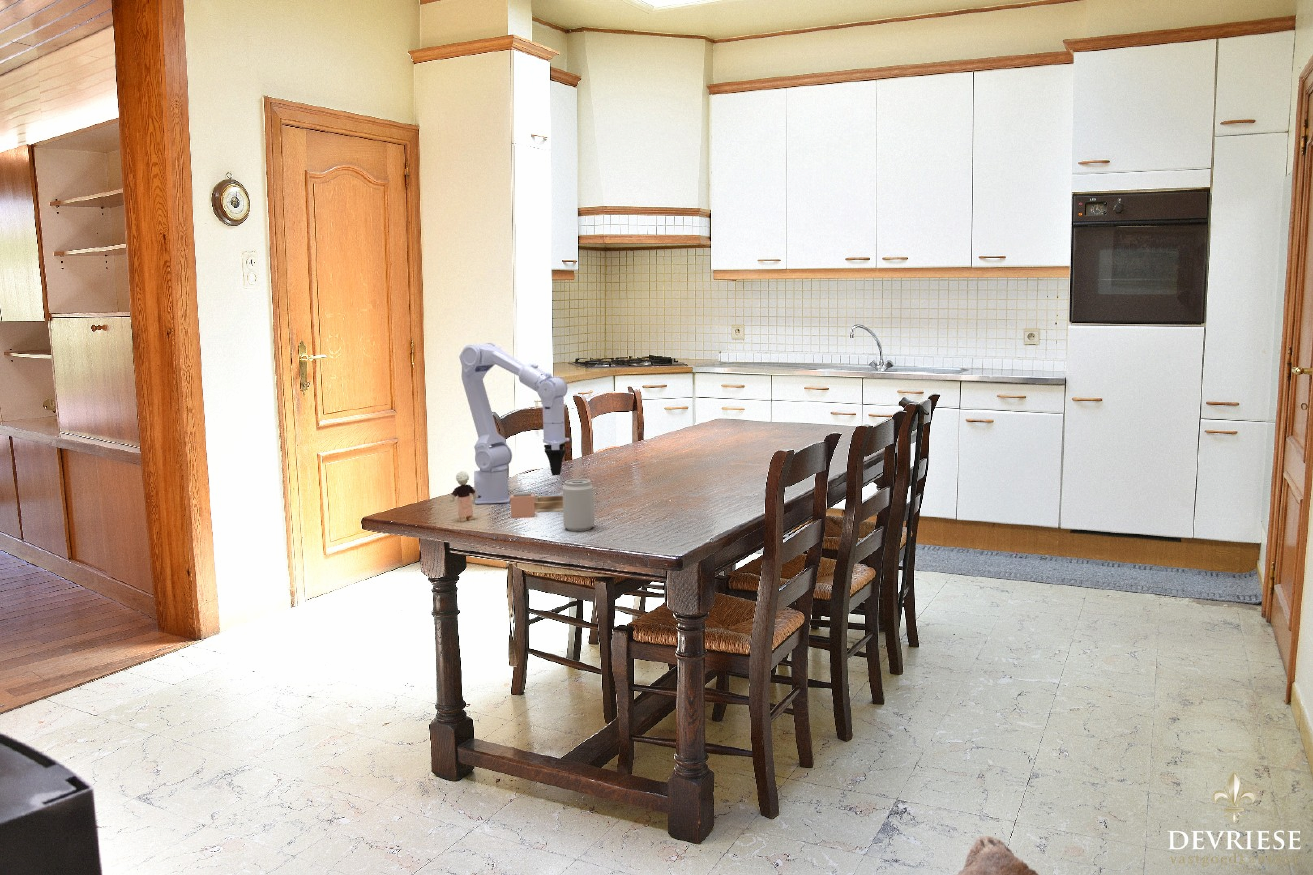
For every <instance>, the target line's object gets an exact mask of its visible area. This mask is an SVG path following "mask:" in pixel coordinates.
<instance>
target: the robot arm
mask: <svg viewBox="0 0 1313 875" xmlns="http://www.w3.org/2000/svg"><path fill="white" fill-rule="evenodd" d="M458 357H459V360H460V364H461V381H462V384H463V387H464V392H465V395H466V398H467V402H468V406H469V409H470V412H471V416H472V420H473V424H474V427H475V431H476V434H477V437H478V439H477V441H476V442H475V443H474V446H473V448H474V451H475V455H474V461H475V464H476V466H477V468H479V470H474V473H473V484H474V486H473V487H474V488H473V489H474V490H475V492H476V495H477V496H478V498H477V499H475V498H474V504H475V505H480V504H481V505H482V504H503V503H504V504H505V503H507V504H508V503H511V501H510V496H511V495H509V481H508V480H509V478H508V474H509V473H508V469H509V464H510V463H511V462H512V460H513V459H512V458H513V453H512V449H511V447H509V445H508V444H507V440H506V438H505V437H504V436H502V435H501V434H499V432H498V429H497V426H496V421H495V418H494V414H493V411H492V408H491V404H490V400H489V397H488V392H487V390H486V387H485V383H484V378H485V376H486V375H487V374H488V372H489V371H490V370H491V369H492V368H493V367H494V366H495V365H496V366H497V367H500V368H502V369H504V370H506V371H508V372H510V373H511V374H514V375H516V376H517V377H518V380H519V382H520V383H521V384H523V385H524V386H527V387H528V388H529V389H531V390H533V391H535V393H537V396H539V398H540V401H541V405H542V425H543V426H542V428H543V429H542V430H543V431H542V432H543V439H542V442H543V443H544V445H543V447H544V453H545V454H546V457H547V459H548V462H549V467H550V472H551V475H552V476H561V471H562V465H563V459H564V456H565V454H566V452H567V449H565V442H570V437H566V431H565V430H566V429H565V428H566V426H565V400H564V399H565V396H566V395H567V393H568V384H567V382H566V381H565V379H564V378H562V376H554V377H553V376H552V374H551V373H550V372H545V371H544V370H542V369H541V368H539V365H537V364H536V363H529V364H524V363H522V362H521V361H519V360H518V359H516V358H514V357H513V356H511V355H510V354H508V352H506V351H504V350H503V349H502V347H501V346H497V345H496V344H494V343H492V342H487V343H482V344H467V345H465V346H464V347H463V348H462V351H461V353H460V354H459V356H458Z"/></svg>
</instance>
